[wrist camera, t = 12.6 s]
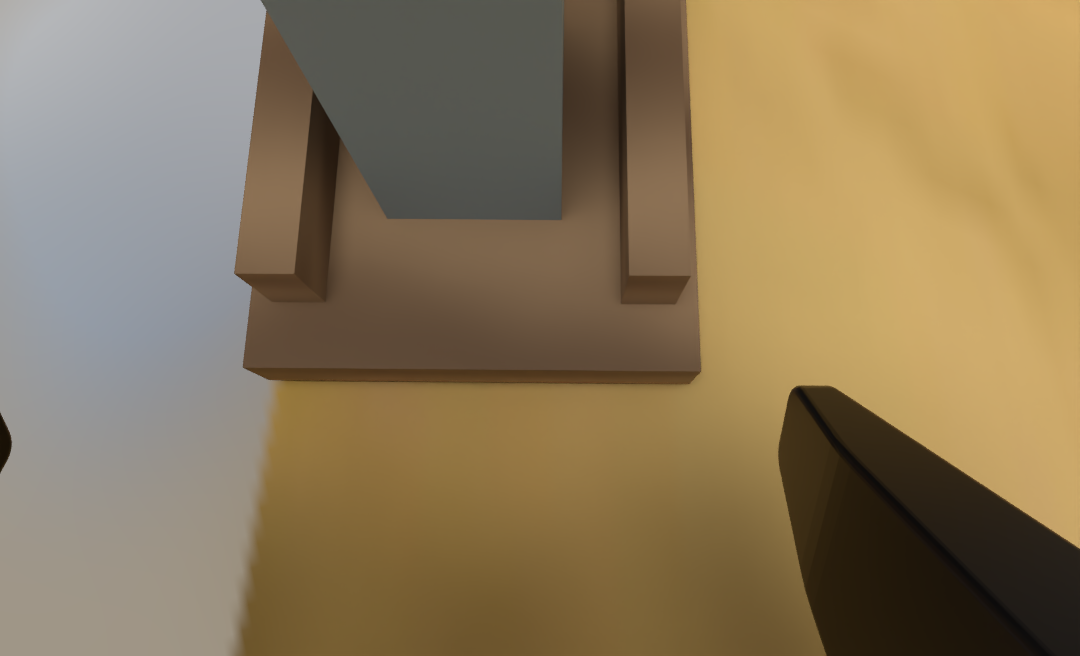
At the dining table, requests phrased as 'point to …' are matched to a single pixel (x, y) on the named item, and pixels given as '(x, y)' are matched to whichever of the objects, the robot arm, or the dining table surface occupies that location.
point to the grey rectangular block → (440, 99)
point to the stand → (486, 235)
